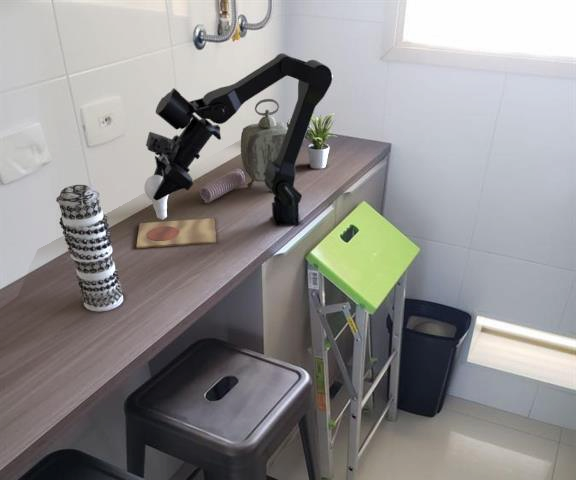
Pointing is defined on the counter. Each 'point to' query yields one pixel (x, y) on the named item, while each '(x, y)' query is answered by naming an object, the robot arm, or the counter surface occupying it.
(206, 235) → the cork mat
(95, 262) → the white patterned tall cylinder
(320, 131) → the house plant
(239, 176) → the coil
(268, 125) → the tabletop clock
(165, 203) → the lightbulb
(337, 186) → the counter surface
